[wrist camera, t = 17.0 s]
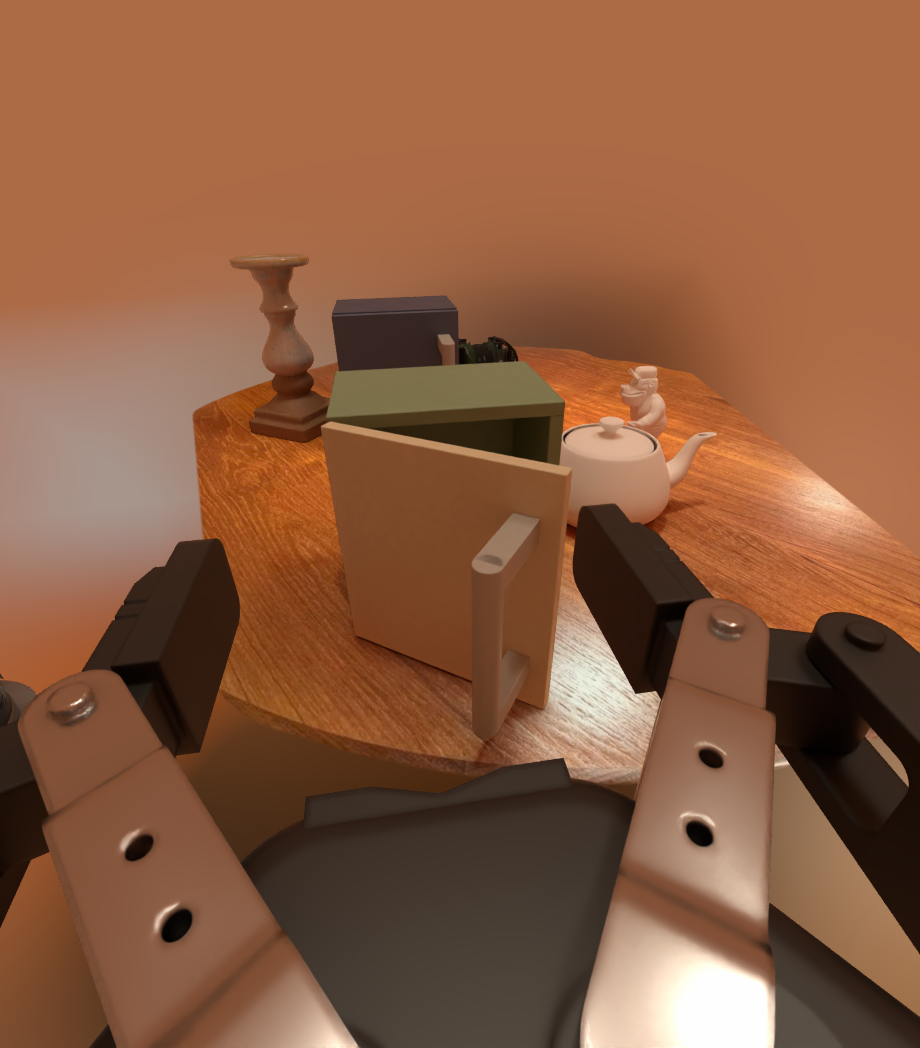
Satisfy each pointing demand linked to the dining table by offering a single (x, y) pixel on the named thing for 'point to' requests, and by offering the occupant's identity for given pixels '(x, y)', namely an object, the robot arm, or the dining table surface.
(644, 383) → the figurine
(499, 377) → the green-topped cabinet
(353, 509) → the peach cabinet door
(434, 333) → the dark cabinet door
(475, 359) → the headphones
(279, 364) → the candle holder
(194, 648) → the robot arm
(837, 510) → the dining table surface
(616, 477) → the teapot
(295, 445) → the dining table surface
